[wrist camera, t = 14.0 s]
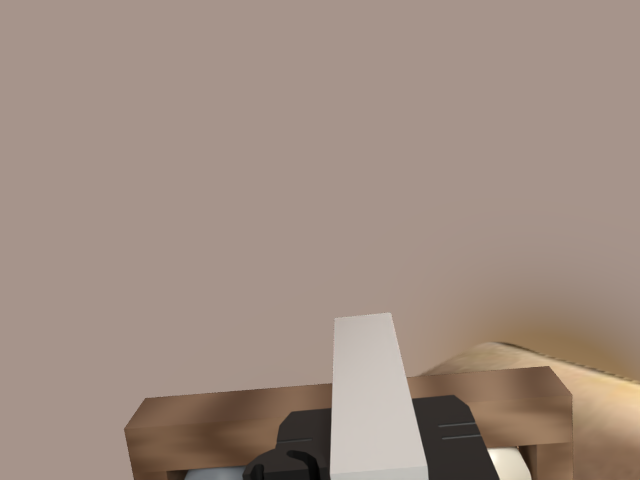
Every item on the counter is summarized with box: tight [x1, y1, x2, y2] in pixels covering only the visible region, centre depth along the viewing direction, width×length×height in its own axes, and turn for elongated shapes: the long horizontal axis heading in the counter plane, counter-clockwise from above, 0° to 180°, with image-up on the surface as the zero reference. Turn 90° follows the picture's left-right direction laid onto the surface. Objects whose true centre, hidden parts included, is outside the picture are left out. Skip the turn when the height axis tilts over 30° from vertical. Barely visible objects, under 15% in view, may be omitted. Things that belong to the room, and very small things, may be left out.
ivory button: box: [487, 446, 531, 480], centre depth 41 cm, size 5×9×5 cm, turn 178°
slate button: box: [184, 465, 247, 480], centre depth 42 cm, size 5×9×5 cm, turn 178°
